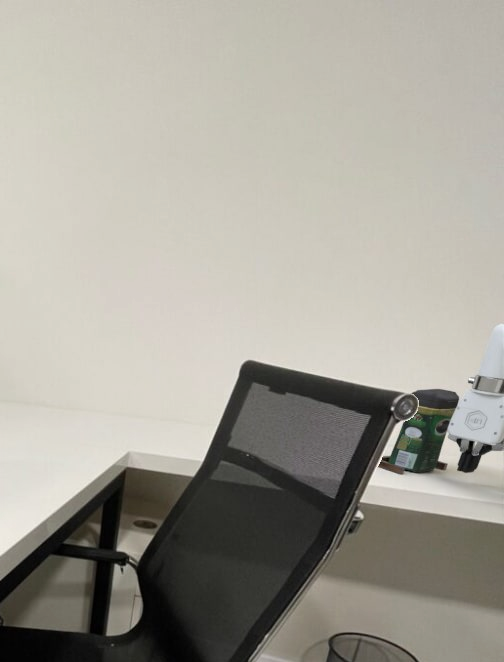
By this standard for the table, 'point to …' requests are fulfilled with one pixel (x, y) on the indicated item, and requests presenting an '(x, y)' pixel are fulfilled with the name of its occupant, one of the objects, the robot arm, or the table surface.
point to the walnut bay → (400, 470)
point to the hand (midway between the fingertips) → (465, 471)
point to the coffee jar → (425, 431)
